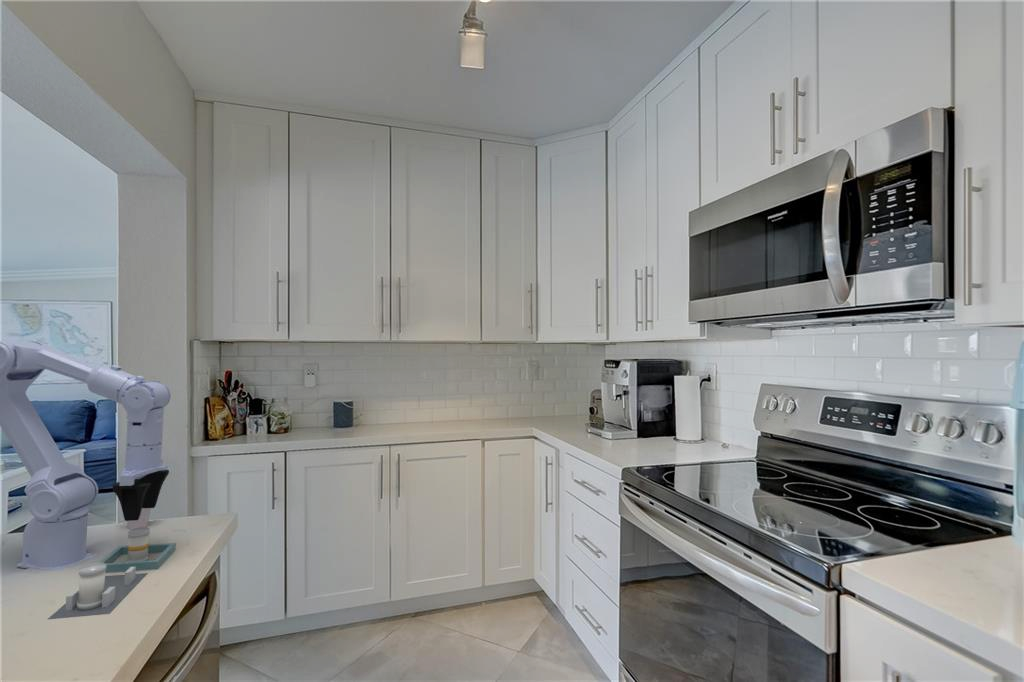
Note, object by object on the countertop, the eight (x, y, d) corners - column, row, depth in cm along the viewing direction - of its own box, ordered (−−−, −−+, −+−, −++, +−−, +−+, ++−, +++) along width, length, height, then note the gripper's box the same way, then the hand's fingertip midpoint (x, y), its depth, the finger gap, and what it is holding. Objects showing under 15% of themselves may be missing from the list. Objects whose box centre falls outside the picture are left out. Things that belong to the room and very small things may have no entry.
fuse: (71, 608, 81) (74, 569, 82) (94, 598, 85) (96, 561, 85) (87, 611, 81) (89, 572, 81) (109, 602, 84) (111, 564, 84)
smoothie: (149, 520, 124) (152, 461, 124) (158, 526, 120) (161, 466, 120) (116, 526, 119) (120, 465, 119) (124, 533, 115) (128, 470, 115)
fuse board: (109, 617, 80) (110, 599, 80) (47, 623, 78) (48, 604, 78) (147, 576, 95) (148, 560, 95) (96, 580, 93) (97, 564, 93)
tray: (157, 572, 96) (157, 561, 97) (94, 576, 94) (94, 565, 94) (175, 552, 106) (175, 542, 106) (118, 556, 103) (118, 546, 103)
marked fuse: (122, 564, 98) (123, 532, 99) (138, 557, 102) (139, 526, 102) (136, 566, 98) (138, 534, 98) (152, 559, 101) (154, 528, 101)
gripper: (152, 450, 95) (148, 525, 95) (180, 437, 109) (177, 502, 109) (107, 451, 93) (103, 527, 93) (142, 437, 107) (138, 503, 107)
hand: (140, 513), depth 101 cm, fingers open, 7 cm apart
